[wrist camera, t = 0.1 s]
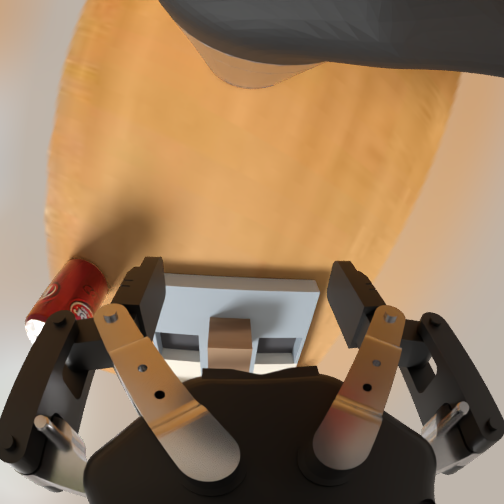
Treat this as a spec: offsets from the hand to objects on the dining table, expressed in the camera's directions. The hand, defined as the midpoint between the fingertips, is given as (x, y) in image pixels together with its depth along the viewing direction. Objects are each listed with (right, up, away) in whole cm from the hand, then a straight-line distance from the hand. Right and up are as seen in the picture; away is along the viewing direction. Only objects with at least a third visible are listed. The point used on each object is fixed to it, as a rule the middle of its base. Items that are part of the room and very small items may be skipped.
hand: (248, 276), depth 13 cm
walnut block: (-3, -9, +22) cm, 24 cm away
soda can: (-22, -2, +20) cm, 30 cm away
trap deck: (-3, -11, +26) cm, 29 cm away
